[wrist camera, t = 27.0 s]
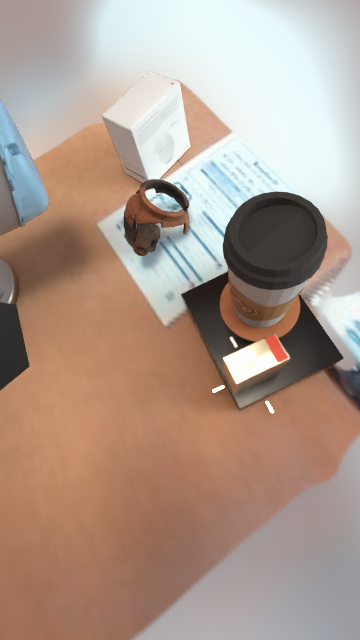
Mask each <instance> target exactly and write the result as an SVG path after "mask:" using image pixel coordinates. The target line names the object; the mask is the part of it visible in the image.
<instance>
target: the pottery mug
mask: <svg viewBox="0 0 360 640" xmlns="http://www.w3.org/2000/svg"><path fill="white" fill-rule="evenodd" d="M152 188H154V189H155V190H156V193H165V194H167V195H169V196H170V197H172V198H174V199H175V200H176V201H177V202H178V203H179V204H180V205H181V207H182V208H183V210H180V211H178V212H168V211H163V210H161V209H159V208H157V207H156V206H154V205H153V204H152V203H151V202H150V201H149V200H148V199H147V197H146V195H145V191H146V190H148V189H152ZM188 207H189V202H188V199H187V197H186V196H185V194H184V193H183V192H182V191H181V190H179V189H178V188H177V187H176V186H174V185H173V184H171V183H169V182H166V181H164V180H158V179H151V180H147V181H145V182H144V183H142V185H141V187H140V189H139V190H138V191H137V192H136V194H135V195H133V196H132V197H130V199H129V201H128V202H127V205H126V209H125V212H124V229H125V237H126V239H127V241H128V243H129V244H130V245H131V246H132V247H133V248H134V252H135V253H136V254H137V255H140V256H145V255H147V253H148V252H153V251H155V249H156V243H157V242H158V239H159V238H160V229H159V227H158V226H157V225H155V224H156V223H161V227H162V228H165V227H174V226H179V225H182V224H184V230H183V233H184V234H186V232H187V229H188V224H189V216H188V211H187V209H188ZM136 224H137V225H138V227H137V228H138V229H136Z"/></svg>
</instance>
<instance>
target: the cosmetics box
mask: <svg viewBox="0 0 360 640" xmlns="http://www.w3.org/2000/svg"><path fill="white" fill-rule="evenodd" d="M102 118H103V120H104V123H105V125H106V127H107V130H108V132H109V134H110V137H111V139H112V142H113V144H114V146H115V149H116V151H117V154H118V156H119V158H120V161H121V163H122V166H123V168H124V170H125V173H127V174H128V175H130V176H132V177H133V178H135V179H137V180H138V181H140V182H142V183H144V182H145V181H147V180H151V179H158V180H159V179H160V178H161V177H162V176H163V175H164V174H165V173H166V172H167V171H168V170H169V168H170V167H171V166H172V165H173V164H174V163H175V162H176V161H177V160H178V159H179V158H180V157H181V156H182V155H183V154H184V153H185V152H186V151H187V150H188V149H189V148H190V142H189V137H188V131H187V125H186V119H185V113H184V107H183V101H182V94H181V87H180V83H179V82H178V81H175V80H173V79H170V78H167V77H165V76H162V75H160V74H157V73H154V72H151V71H149V72H148V73H147V74H146V75H145V76H143V78H141V79H140V80H139V81H138V82H137V83H136V84H135V85H134V86H133V87H132V88H131V89H129V90H128V91H127V92H126V93H125V94H124V95H123V96H122V97H121V98H120V99H119V100H118V101H117V102H115V103H114V104H113V105H112V106H111V107H110V108H109V109H108V110H107V111H106V112H105V113H104V114H103V115H102Z"/></svg>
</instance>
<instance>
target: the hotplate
mask: <svg viewBox="0 0 360 640" xmlns="http://www.w3.org/2000/svg"><path fill="white" fill-rule="evenodd" d="M228 282H229V279H228V272H226V273H224V274H222V275H220V276H218V277H216V278H214V279H212V280H210V281H208V282H206V283H204V284H201V285H199V286H197V287H195V288H193V289H191V290H189V291H187V292H185V293H183V294H181V296H182V299H183V302H184V304H185V306H186V308H187V310H188V312H189V314H190V315H191V317H192V319H193V321H194V323H195V325H196V327H197V329H198V331H199V333H200V335H201V337H202V339H203V341H204V343H205V345H206V347H207V349H208V351H209V353H210V355H211V356H212V358H213V360H214V362H215V364H216V366H217V368H218V370H219V372H220V374H221V376H222V378H223V380H224V382H225V384H226V386H227V388H228V390H229V392H230V394H231V396H232V397H233V399H234V401H235V403H236V405H237V407H238V409H239V411H240V410H242V409H244V408H246V407H248V406H250V405H252V404H254V403H256V402H258V401H260V400H263V399H265V398H267V397H269V396H271V395H273V394H275V393H277V392H279V391H281V390H283V389H285V388H287V387H289V386H291V385H293V384H295V383H297V382H299V381H301V380H303V379H305V378H307V377H309V376H311V375H313V374H315V373H317V372H319V371H321V370H323V369H326V368H328V367H330V366H332V365H334V364H336V363H337V362H339V361H340V360H342V359H343V356H342V355H341V354H340V352H339V350H338V349H337V348H336V346H335V345H334V343H333V342H332V340H331V339H330V338H329V336H328V335H327V333H326V332H325V330H324V329H323V327H322V326H321V325H320V323H319V322H318V320H317V319H316V317H315V316H314V314H313V313H312V312H311V310H310V309H309V307H308V306H307V304H306V303H305V301H304V300H303V299H302V297H301V296H300V294H299V300H300V313H299V316H298V319H297V321H296V323H295V325H294V326H293V327H292V329H291V330H290V331H289V332H288V333H286V334H285V335H284V336H282V337H280V338H278V339H279V341H280V342H281V344H282V346H283V347H284V349H285V350H286V352H287V354H288V355H289V357H290V360H289V361H288V362H287V363H286V365H285V366H284V367H283V369H282V370H281V371H280V372H279V374H277V375H275V376H273V377H271V378H269V379H267V380H265V381H263V382H261V383H258V384H256V385H254V386H252V387H250V388H248V389H246V390H244V391H242V392H240V393H238V394H234V392H233V390H232V388H231V386H230V384H229V382H228V380H227V378H226V376H225V374H224V368H223V357H225V356H227V355H229V354H231V353H233V352H235V351H238V350H240V349H242V348H244V347H246V346H248V345H250V344H252V343H254V342H253V341H249V340H246V339H243V338H241V337H239V336H237V335H236V334H235V333H233V332H232V331H231V330H230V329H229V328H228V327H227V325H226V324H225V322H224V320H223V318H222V316H221V312H220V298H221V294H222V292H223V290H224V288H225V286H226V285H227V284H228ZM223 388H224V386H223V385H222V386H220V387H218V388H216V389H214V390H212V391H213V393H215V392H217V391H219V390H221V389H223ZM265 403H266V405H267V407H268V409H269V410H270V412H271V414H272V413H274V411H273V409H272V407H271V405H270V403H269V402H268V401H266V402H265Z"/></svg>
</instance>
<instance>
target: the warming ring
mask: <svg viewBox="0 0 360 640" xmlns="http://www.w3.org/2000/svg"><path fill="white" fill-rule="evenodd" d="M220 312H221V316H222V318H223V320H224V322H225V324H226V325H227V327H228V328H229V329H230V330H231V331H232V332H233V333H235V334H236V335H237V336H239V337H241V338H243V339H246V340H249V341H253V342H256V341H258V340H261V339H263V338H265V337H267V336H269V335H271V334H273V333H275V334H276V336H277V337H278V338H280V337H282V336H284V335H285V334H286V333H288V332H289V331H290V330H291V329H292V327H293V326H294V325H295V323H296V321H297V319H298V316H299V313H300V300H299V296H298V297H297V299H296V300H295V302H294V303H293V304H292V306H291V307H290V308H289V310H288V311H287V312H286V313H285V315H284V316H283V317H282V318H281V320H280V321H278V322H277V323H275V324H274V325H271V326H268V327H260V328H259V327H253V326H250V325H248V324H246V323H244V322H243V321H242V320H240V318H239V317H238V316H237V315H236V313H235V310H234V308H233V302H232V299H231V292H230V285H229V282H228V284H227V285H226V286H225V288H224V290H223V292H222V294H221V298H220Z"/></svg>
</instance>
